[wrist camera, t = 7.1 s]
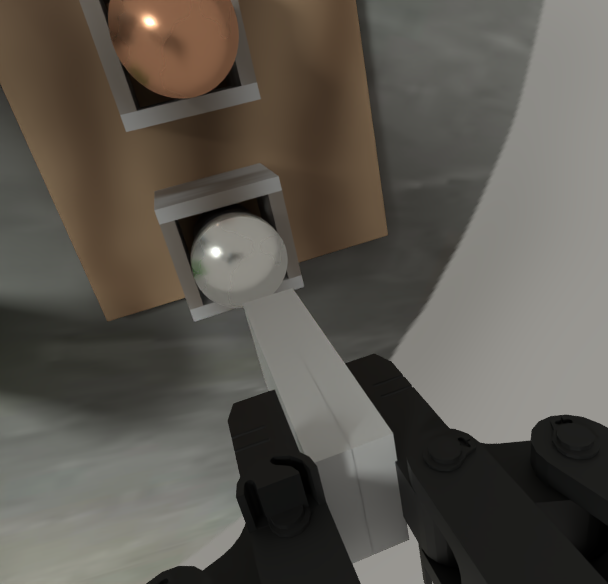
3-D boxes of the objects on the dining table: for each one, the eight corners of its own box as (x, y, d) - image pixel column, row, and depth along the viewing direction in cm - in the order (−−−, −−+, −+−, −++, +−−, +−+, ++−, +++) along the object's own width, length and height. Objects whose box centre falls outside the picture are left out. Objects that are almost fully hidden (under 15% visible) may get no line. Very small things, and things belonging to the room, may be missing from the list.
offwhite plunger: (199, 281, 27) (208, 319, 23) (174, 207, 25) (178, 233, 21) (273, 259, 28) (296, 291, 23) (255, 185, 26) (275, 205, 21)
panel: (109, 313, 29) (99, 361, 24) (-159, -290, 18) (-287, -444, 13) (380, 230, 32) (423, 257, 27) (299, -332, 21) (347, -471, 16)
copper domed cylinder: (139, 106, 22) (135, 111, 17) (102, -5, 20) (86, -32, 15) (233, 84, 22) (252, 83, 18) (205, -26, 21) (219, -57, 16)
